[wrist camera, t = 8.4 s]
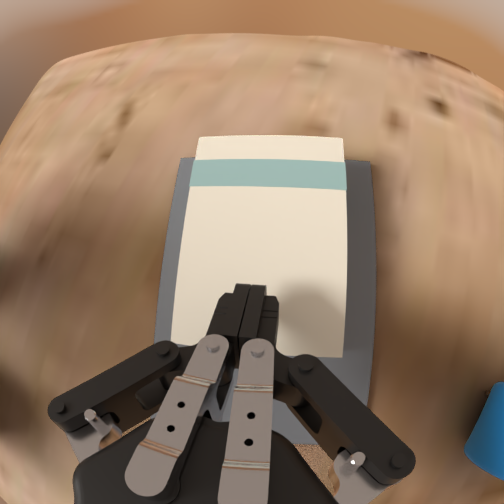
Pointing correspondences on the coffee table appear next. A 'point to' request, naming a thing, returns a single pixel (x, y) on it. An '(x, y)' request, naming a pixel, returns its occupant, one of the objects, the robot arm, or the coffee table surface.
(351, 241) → the mat
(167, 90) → the coffee table surface
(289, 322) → the box
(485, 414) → the alarm clock
